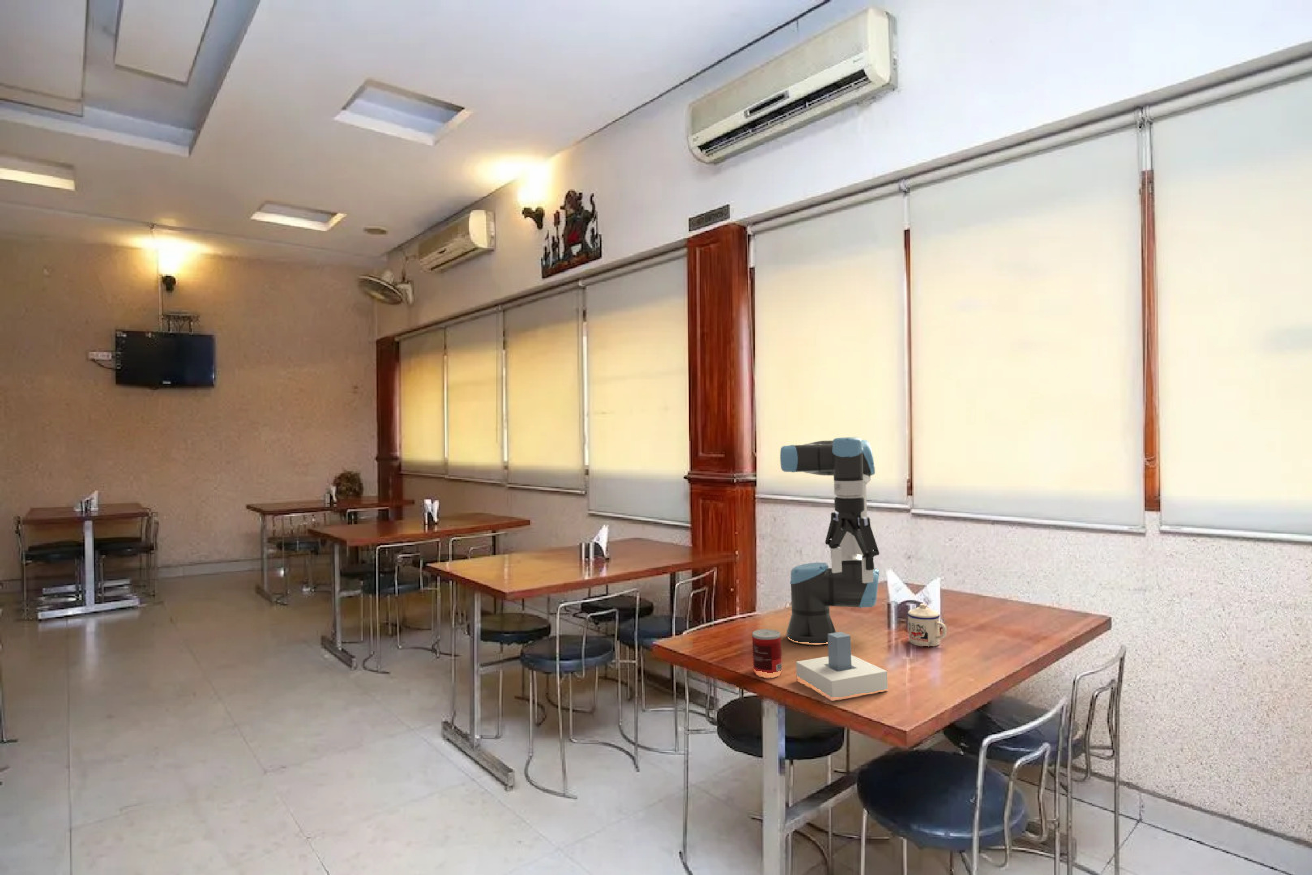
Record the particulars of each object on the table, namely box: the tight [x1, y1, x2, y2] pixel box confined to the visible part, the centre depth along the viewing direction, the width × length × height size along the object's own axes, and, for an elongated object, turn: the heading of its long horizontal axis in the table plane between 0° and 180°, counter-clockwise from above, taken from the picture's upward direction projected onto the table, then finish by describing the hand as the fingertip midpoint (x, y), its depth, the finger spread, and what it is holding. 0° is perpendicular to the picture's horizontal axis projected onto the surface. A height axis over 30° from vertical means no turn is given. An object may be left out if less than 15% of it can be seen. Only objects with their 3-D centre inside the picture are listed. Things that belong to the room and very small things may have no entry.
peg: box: [827, 631, 852, 672], centre depth 175 cm, size 4×4×13 cm
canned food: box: [751, 628, 783, 673], centre depth 186 cm, size 8×8×11 cm
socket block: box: [795, 654, 889, 697], centre depth 175 cm, size 16×16×5 cm
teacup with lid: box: [907, 603, 948, 648], centre depth 207 cm, size 12×9×12 cm
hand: (851, 577), depth 181 cm, fingers open, 13 cm apart
